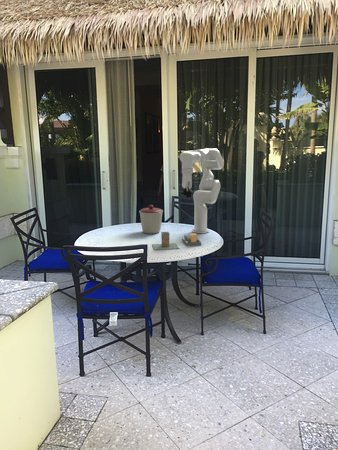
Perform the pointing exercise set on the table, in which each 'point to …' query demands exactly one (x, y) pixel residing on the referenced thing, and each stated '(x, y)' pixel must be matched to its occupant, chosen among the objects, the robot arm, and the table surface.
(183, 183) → the robot arm
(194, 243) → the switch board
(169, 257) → the table surface
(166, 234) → the brown rectangular block
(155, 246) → the tool mat
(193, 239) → the tan orange cube block
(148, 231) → the canister
